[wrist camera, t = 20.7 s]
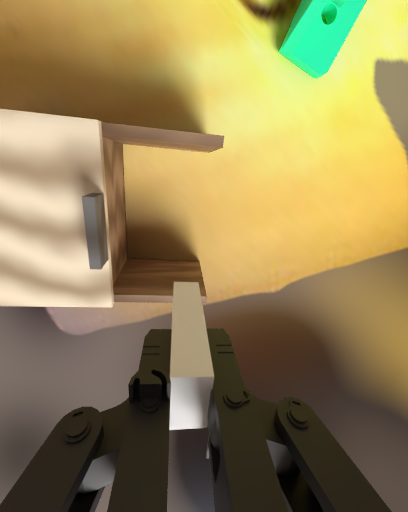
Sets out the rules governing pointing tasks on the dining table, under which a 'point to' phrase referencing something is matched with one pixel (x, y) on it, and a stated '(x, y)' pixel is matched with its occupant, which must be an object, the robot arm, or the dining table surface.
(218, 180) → the dining table surface
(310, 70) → the camera mount
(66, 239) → the lid
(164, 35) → the dining table surface
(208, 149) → the housing
